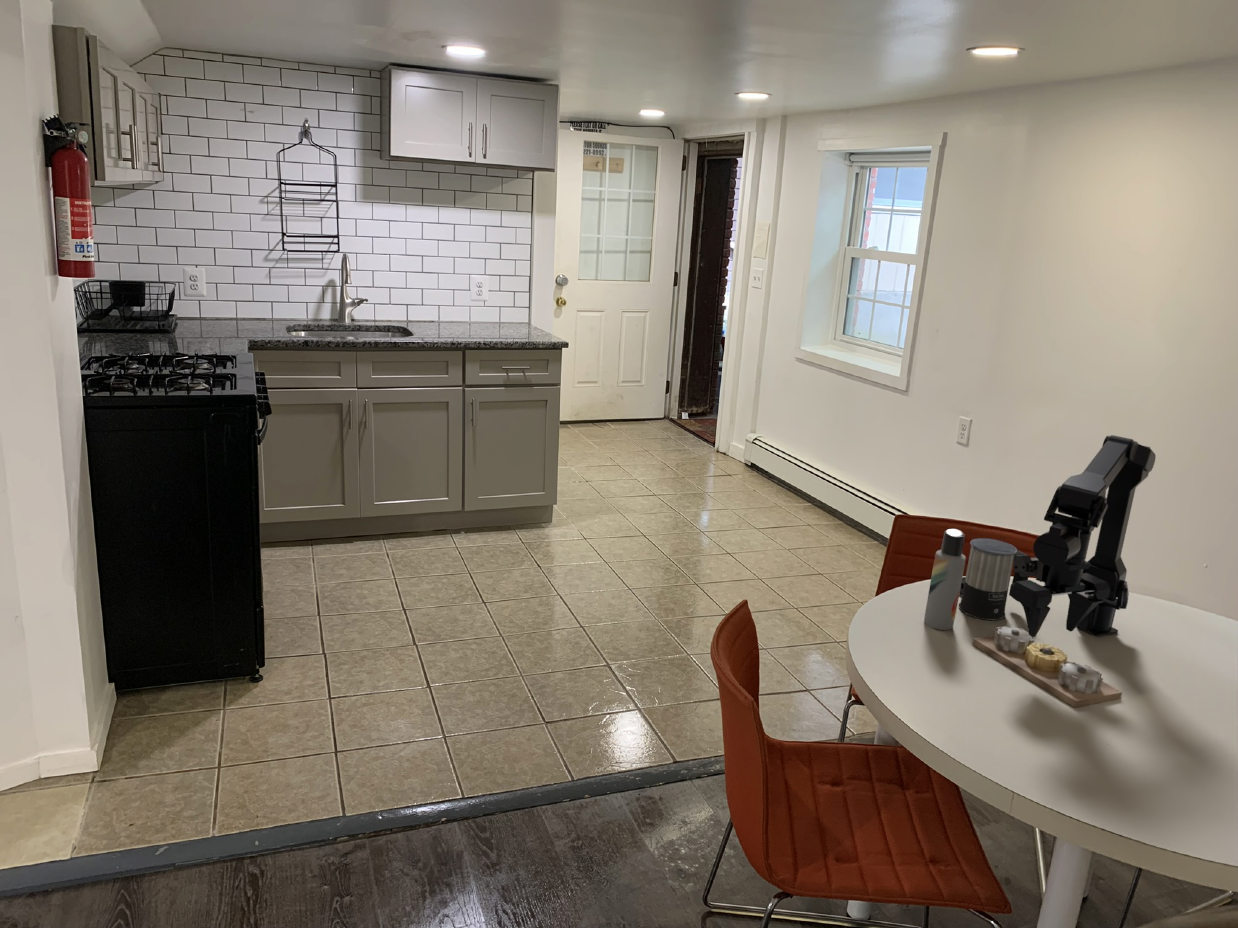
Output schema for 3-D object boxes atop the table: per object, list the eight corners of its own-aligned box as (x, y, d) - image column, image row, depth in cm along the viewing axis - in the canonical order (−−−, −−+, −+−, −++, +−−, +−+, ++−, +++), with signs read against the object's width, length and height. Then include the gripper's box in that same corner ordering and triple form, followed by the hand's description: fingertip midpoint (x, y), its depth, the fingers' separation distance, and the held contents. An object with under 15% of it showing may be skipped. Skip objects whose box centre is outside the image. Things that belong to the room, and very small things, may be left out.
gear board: (972, 644, 178) (976, 624, 177) (1015, 637, 182) (1019, 618, 181) (1074, 707, 157) (1080, 685, 156) (1120, 698, 161) (1125, 676, 160)
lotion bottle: (954, 622, 187) (971, 530, 182) (951, 633, 182) (969, 538, 177) (925, 615, 189) (941, 524, 184) (921, 626, 184) (938, 532, 179)
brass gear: (1043, 653, 174) (1045, 641, 173) (1072, 670, 168) (1075, 657, 167) (1016, 657, 171) (1018, 645, 170) (1045, 675, 165) (1048, 662, 164)
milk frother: (985, 624, 187) (998, 556, 183) (923, 594, 200) (935, 530, 196) (1028, 612, 195) (1042, 547, 191) (966, 584, 208) (978, 522, 204)
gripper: (1069, 533, 174) (1052, 609, 178) (994, 540, 167) (978, 619, 171) (1120, 555, 164) (1101, 634, 168) (1043, 563, 157) (1025, 646, 161)
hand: (1050, 633), depth 167 cm, fingers open, 9 cm apart
